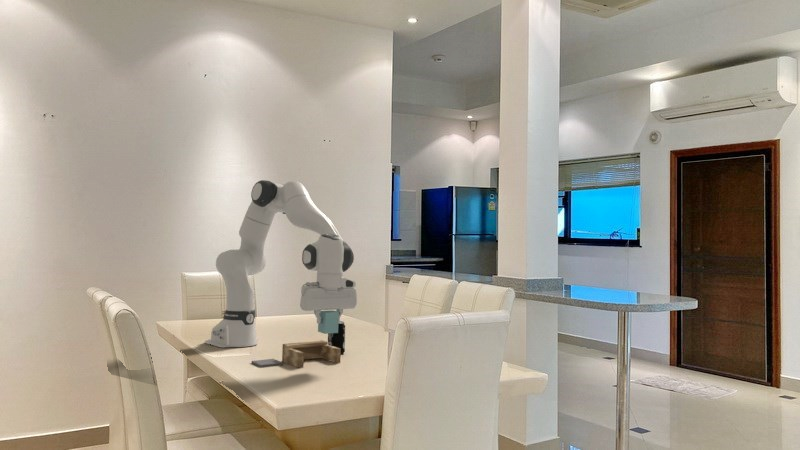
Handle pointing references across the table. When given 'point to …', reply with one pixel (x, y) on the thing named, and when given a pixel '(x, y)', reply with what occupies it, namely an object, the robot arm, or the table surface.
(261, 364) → the pad
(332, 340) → the beverage can
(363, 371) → the table surface
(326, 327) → the block
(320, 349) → the wooden u-shaped holder
